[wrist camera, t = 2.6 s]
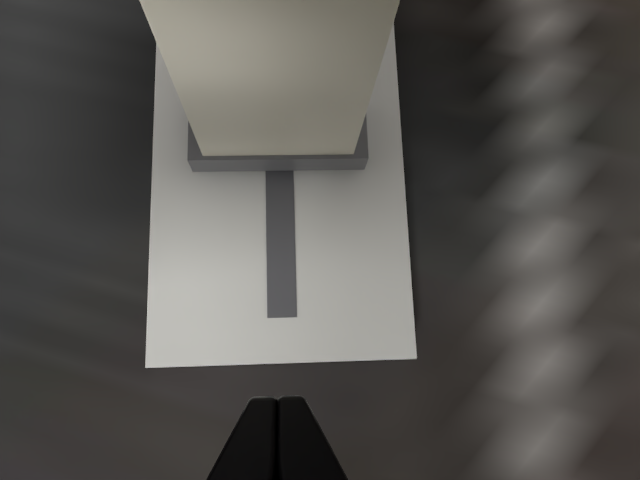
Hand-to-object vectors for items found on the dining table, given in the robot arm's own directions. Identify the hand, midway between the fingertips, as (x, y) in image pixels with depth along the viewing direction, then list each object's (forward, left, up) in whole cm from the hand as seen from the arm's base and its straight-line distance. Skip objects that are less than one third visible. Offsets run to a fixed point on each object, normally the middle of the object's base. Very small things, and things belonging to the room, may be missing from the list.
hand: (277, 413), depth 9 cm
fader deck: (+6, +6, -11) cm, 14 cm away
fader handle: (+6, +6, -10) cm, 13 cm away
